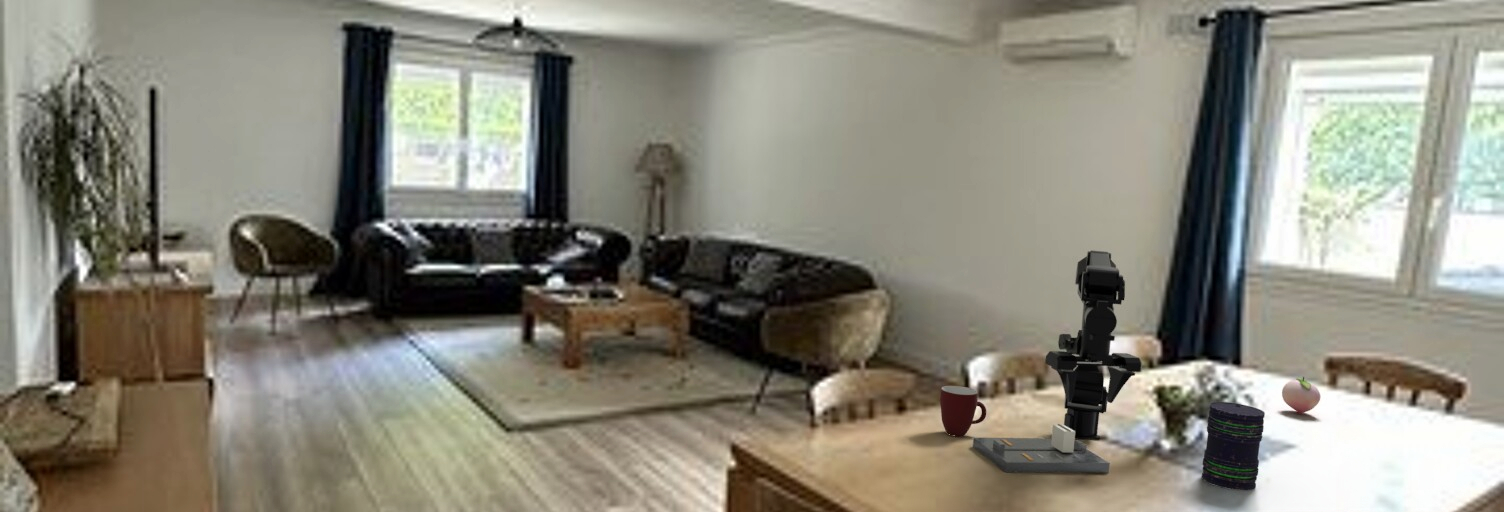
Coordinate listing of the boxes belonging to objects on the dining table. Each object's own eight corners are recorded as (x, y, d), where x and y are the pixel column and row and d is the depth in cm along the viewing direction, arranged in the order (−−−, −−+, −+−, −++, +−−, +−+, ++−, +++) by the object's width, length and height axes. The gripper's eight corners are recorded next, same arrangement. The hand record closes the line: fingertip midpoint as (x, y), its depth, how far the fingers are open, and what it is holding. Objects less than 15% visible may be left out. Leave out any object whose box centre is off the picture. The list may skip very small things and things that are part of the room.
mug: (973, 428, 209) (977, 385, 208) (991, 439, 201) (995, 394, 200) (931, 429, 206) (934, 385, 205) (947, 440, 199) (951, 395, 198)
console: (1068, 447, 199) (1069, 431, 198) (1108, 472, 183) (1110, 455, 183) (972, 446, 195) (974, 430, 194) (1005, 472, 179) (1007, 454, 179)
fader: (1061, 445, 192) (1063, 423, 192) (1073, 452, 187) (1075, 430, 187) (1051, 444, 192) (1053, 423, 191) (1062, 452, 187) (1064, 430, 186)
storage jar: (1254, 494, 175) (1264, 418, 174) (1198, 482, 180) (1206, 408, 179) (1257, 481, 184) (1266, 408, 182) (1203, 469, 189) (1212, 399, 187)
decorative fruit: (1273, 407, 248) (1278, 371, 247) (1306, 410, 247) (1310, 374, 246) (1289, 416, 239) (1293, 379, 238) (1322, 419, 238) (1327, 382, 237)
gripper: (1117, 322, 198) (1109, 393, 200) (1036, 319, 195) (1029, 391, 196) (1147, 332, 187) (1139, 406, 189) (1062, 329, 184) (1054, 405, 186)
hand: (1089, 402), depth 190 cm, fingers open, 9 cm apart
